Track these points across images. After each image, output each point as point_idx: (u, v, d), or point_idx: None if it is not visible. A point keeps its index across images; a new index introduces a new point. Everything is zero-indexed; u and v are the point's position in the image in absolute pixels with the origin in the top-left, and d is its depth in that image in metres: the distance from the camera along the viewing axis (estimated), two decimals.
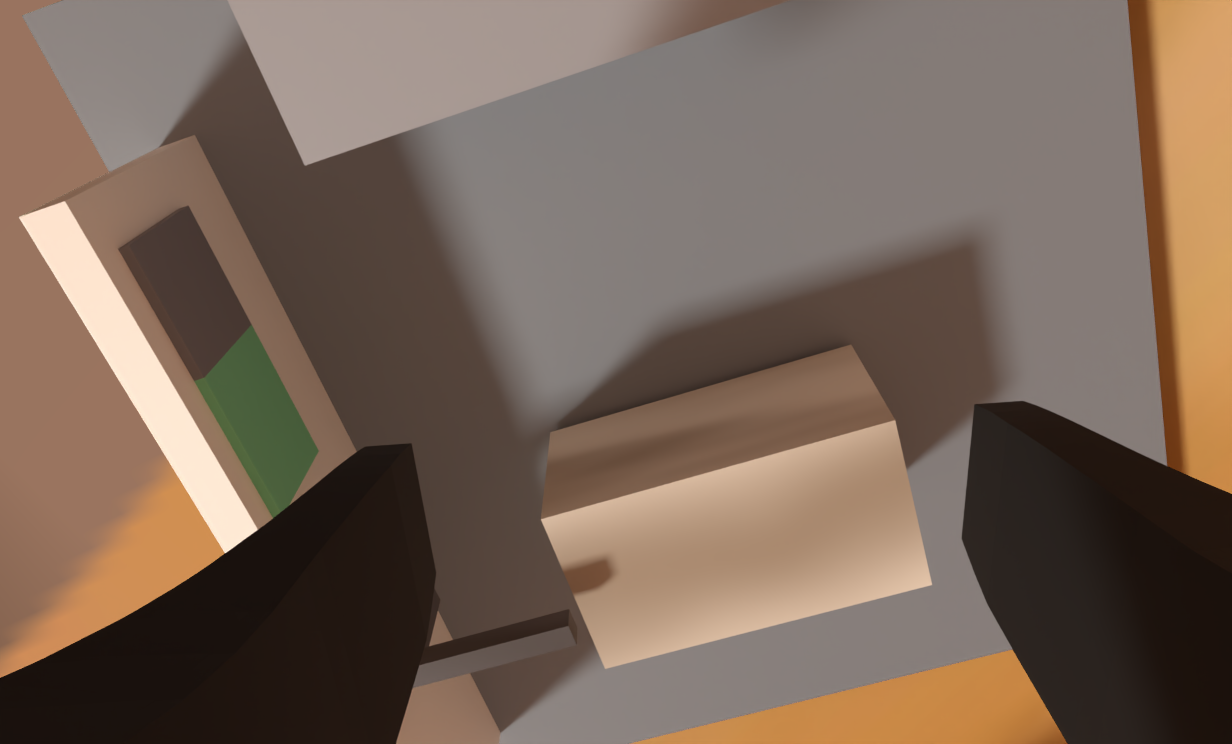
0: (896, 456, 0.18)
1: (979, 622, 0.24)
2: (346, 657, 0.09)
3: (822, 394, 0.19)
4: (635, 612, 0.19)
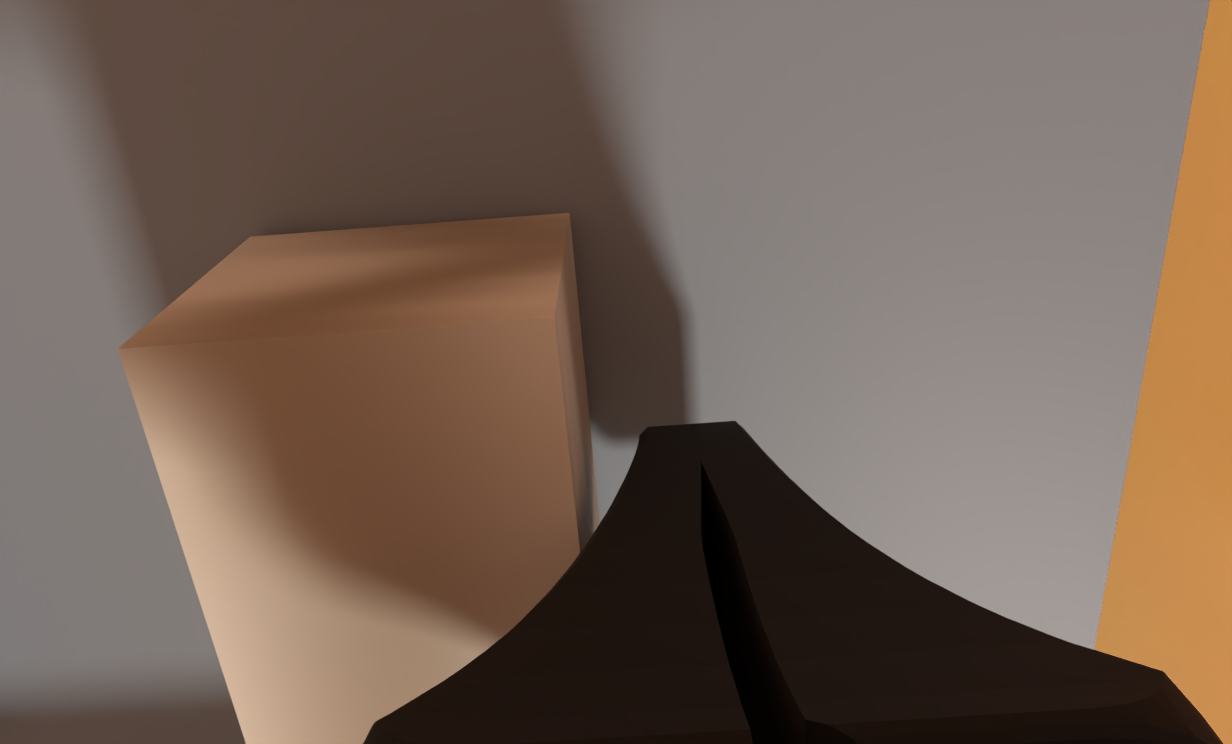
0: (206, 354, 0.09)
1: (1104, 37, 0.11)
2: None
3: None
4: None
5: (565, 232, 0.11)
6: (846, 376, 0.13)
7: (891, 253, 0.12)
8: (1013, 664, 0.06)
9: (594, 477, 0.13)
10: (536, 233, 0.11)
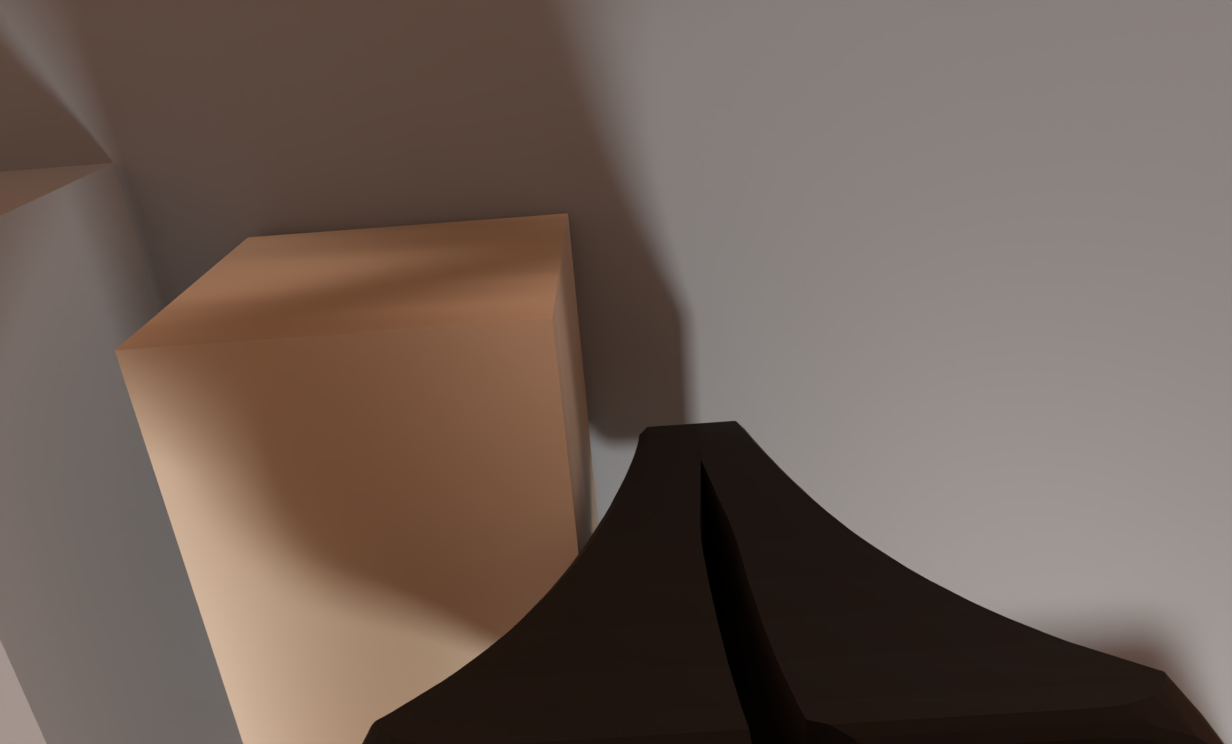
0: (204, 355, 0.09)
1: None
2: None
3: None
4: None
5: (563, 233, 0.11)
6: (1197, 352, 0.13)
7: None
8: (1014, 664, 0.06)
9: (593, 478, 0.13)
10: (534, 234, 0.11)
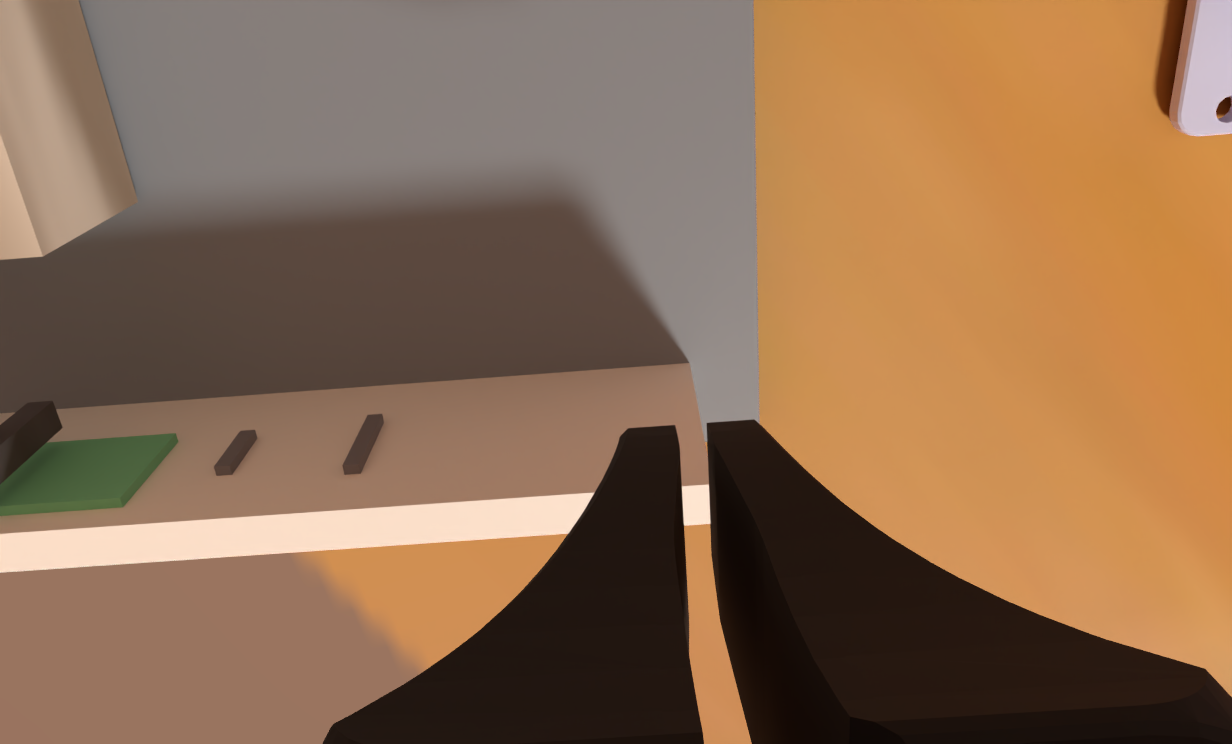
0: None
1: None
2: None
3: None
4: None
5: None
6: None
7: None
8: (1052, 661, 0.06)
9: (82, 29, 0.17)
10: None
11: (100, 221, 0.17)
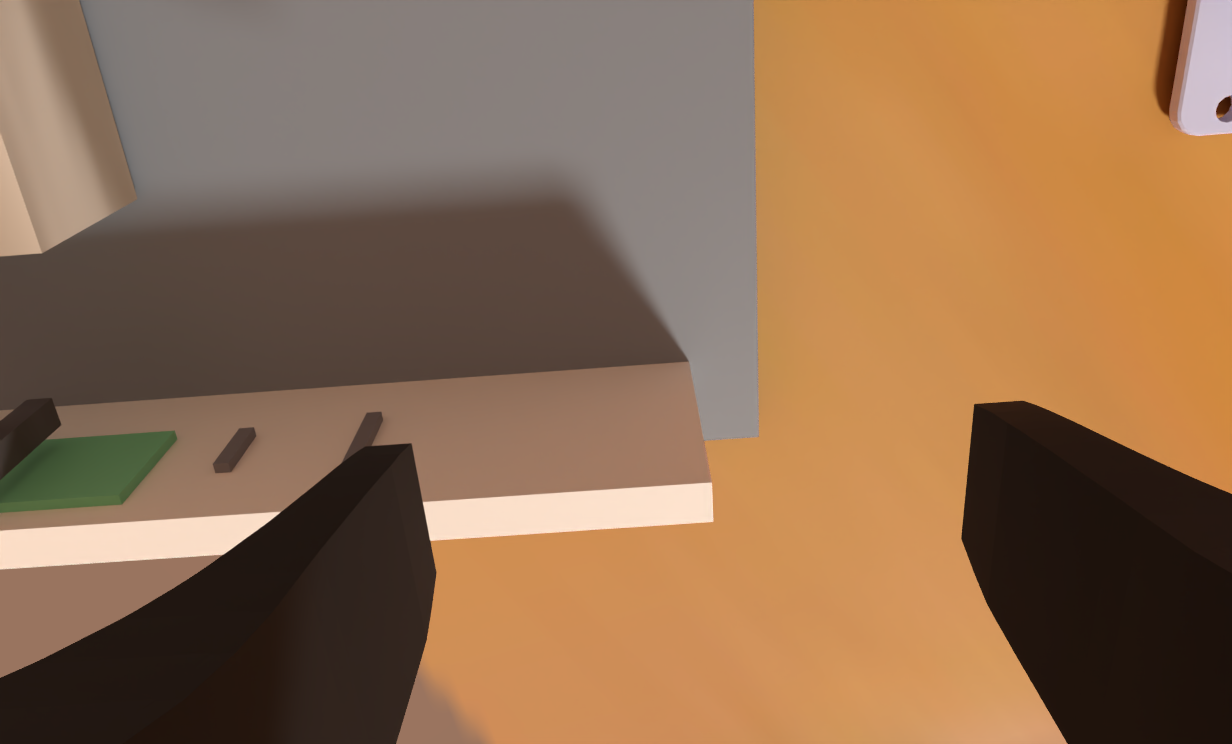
0: None
1: None
2: (346, 657, 0.09)
3: None
4: None
5: None
6: None
7: None
8: None
9: (81, 25, 0.17)
10: None
11: (99, 218, 0.17)
